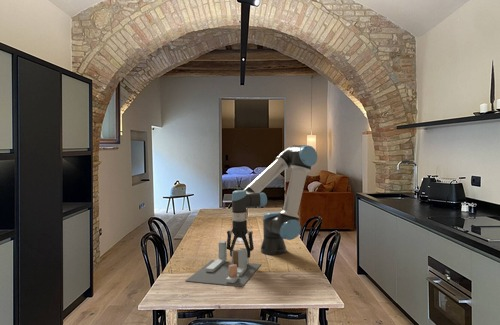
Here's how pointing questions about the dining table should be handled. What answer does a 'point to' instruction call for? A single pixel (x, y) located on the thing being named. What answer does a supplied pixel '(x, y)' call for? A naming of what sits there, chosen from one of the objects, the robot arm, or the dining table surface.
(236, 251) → the block
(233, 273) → the peach egg shape
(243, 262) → the broken strip
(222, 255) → the grey stepped bracket
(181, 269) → the dining table surface
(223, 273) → the mat
